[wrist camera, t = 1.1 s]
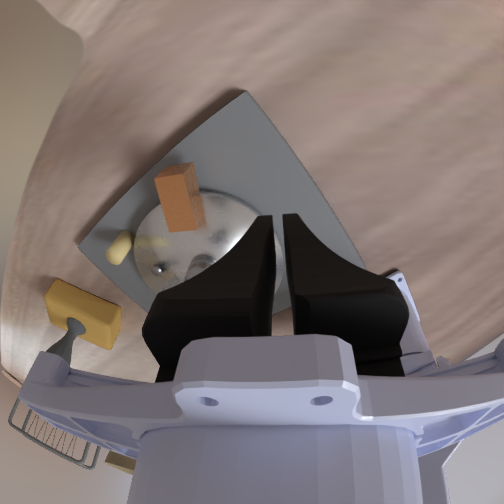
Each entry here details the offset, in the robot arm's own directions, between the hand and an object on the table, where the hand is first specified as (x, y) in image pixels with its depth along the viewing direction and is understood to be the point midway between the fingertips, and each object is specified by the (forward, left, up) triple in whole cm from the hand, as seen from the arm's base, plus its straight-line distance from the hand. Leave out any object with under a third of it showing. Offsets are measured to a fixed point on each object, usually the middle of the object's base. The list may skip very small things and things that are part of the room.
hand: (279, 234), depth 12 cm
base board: (-3, +9, -10) cm, 14 cm away
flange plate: (-2, +9, -9) cm, 13 cm away
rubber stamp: (0, +29, -11) cm, 31 cm away
